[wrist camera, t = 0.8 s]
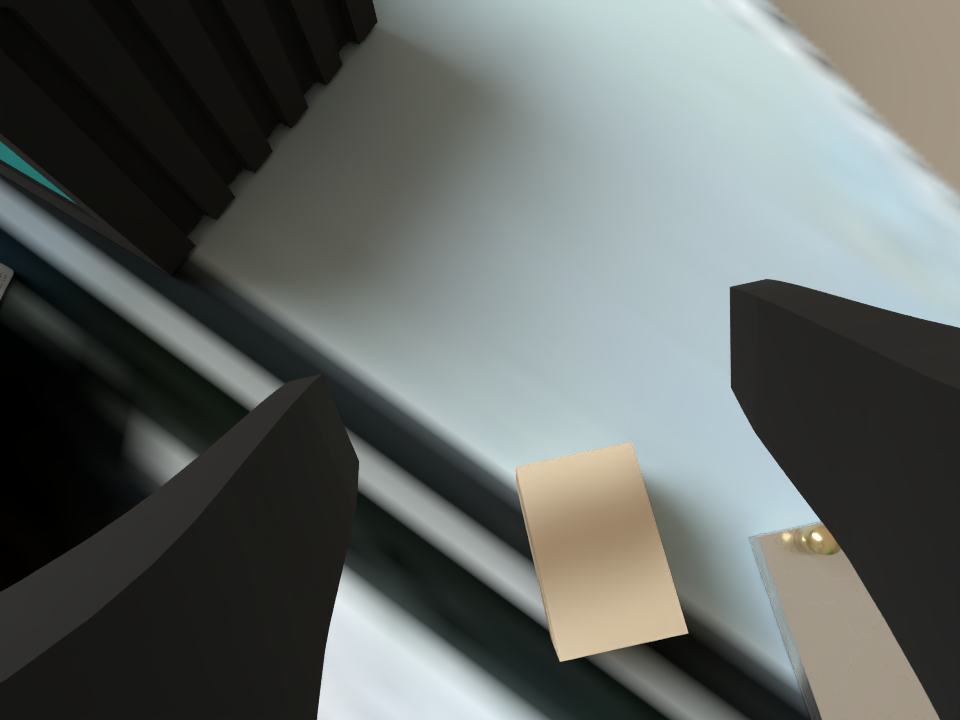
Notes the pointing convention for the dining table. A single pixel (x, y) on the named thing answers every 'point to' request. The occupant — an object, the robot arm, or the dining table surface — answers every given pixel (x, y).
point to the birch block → (597, 552)
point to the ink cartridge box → (4, 278)
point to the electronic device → (157, 103)
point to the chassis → (835, 631)
